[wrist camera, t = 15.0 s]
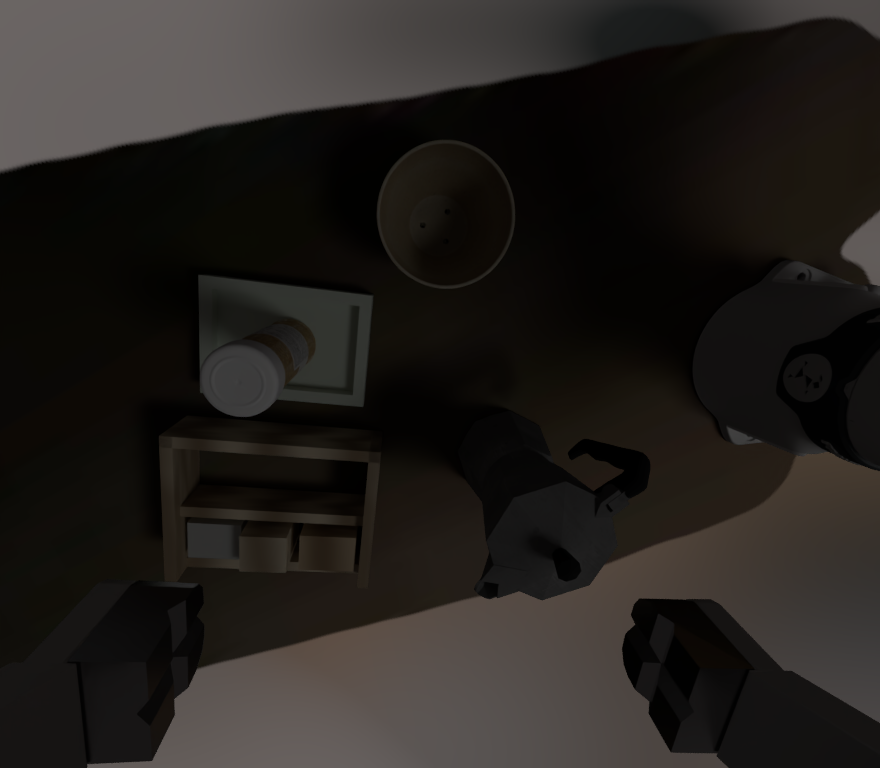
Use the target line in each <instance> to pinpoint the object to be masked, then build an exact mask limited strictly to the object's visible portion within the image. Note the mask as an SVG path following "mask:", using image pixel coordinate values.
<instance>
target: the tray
mask: <svg viewBox="0 0 880 768" xmlns="http://www.w3.org/2000/svg"><path fill="white" fill-rule="evenodd" d="M198 283H199V346H200V370H201V366H202V364H203V362H204V360H205V359H206V357H207V356H208V355H209V354H210V353H211V352H212V351H214V350H215V349H217V348H218V347H220V346H222V345H224V344H226V343H229V342H231V341H234V340H241V339H242V338H244V337H246V336H248V335H250V334H252V333H254V332H256V331H258V330H261V329H263V328H265V327H267V326H270V325H272V324H273V323H274V322H277V321H279V320H282V319H294V320H298V321H300V322H302V323H304V324H305V325H306V326H307V327H309V329H310V330H311V331H312V333H313V335H314V337H315V341H316V349H315V353H314V356H313V358H312V359H311V361H310V362H308V363H307V364H306V365H305V366H304V367H303V369H302V370H301V371H300V372H299V373H298V374H297V375H296V376H295V377H294V378H293V379H292V380H291V381H290V382H289V383H287V385H286V386H285V387H284V388H283V390H282V393H281V394H280V396H279V397H278V398H277V399H279V400H290V401H302V402H313V403H324V404H336V405H347V406H359V407H363V405H364V401H365V389H366V378H367V366H368V354H369V343H370V331H371V319H372V308H373V296H374V294H367V293H359V292H351V291H343V290H334V289H326V288H318V287H310V286H301V285H293V284H285V283H277V282H268V281H260V280H252V279H244V278H235V277H227V276H219V275H211V274H204V275H198ZM200 393H203V391H202V389H201V385H200Z"/></svg>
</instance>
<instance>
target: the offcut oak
mask: <svg viewBox="0 0 880 768" xmlns="http://www.w3.org/2000/svg"><path fill="white" fill-rule="evenodd" d="M358 529H359V526H350V525H331V524H313V523H304V525H303V528H302V531H301V534H300V542H299V565H298V570H322V571H351V572H353V570H354V562H355V555H356V548H357V540H358Z"/></svg>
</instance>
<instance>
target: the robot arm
mask: <svg viewBox="0 0 880 768" xmlns="http://www.w3.org/2000/svg"><path fill="white" fill-rule="evenodd" d="M798 275H799V278H798V280H797V277H798ZM692 371H693V381H694V386H695V389H696V392H697V394H698V396H699V398H700V400H701V402H702V403H703V404H704V406H705V407H706V408H707V409H708V410H709V411H710V412H711V413H712V414H713V415H714V416H715V417H716V419H717V420H718V423H719V426H720V429H721V432H722V435H723V437H724V438H725V440H726V441H728V442H731V443H733V444H736V445H742V444H751V443H760V442H765V443H767V444H770V445H772V446H775V447H777V448H779V449H782V450H784V451H787V452H789V453H792V454H795V455H798V456H805V455H806V454H818V453H823V452H830V453H833V454H834V455H836V456H837V457H839V458H841V459H843V460H846V461H848V462H851V463H853V464H857V465H862V466H865V467H868V468H870V469H874V470H878V471H880V286H877V285H869V284H867V285H864V286H863V285H856V284H853V283H850V282H848V281H845V280H843V279H840V278H838V277H836V276H833V275H831V274H828V273H826V272H824V271H821V270H819V269H816V268H814V267H811V266H809V265H807V264H804V263H802V262H799V261H793V260H785V261H782V262H780V263H779V264H778V265H776V266H775V267H774V268H773V269H772V270H771V271H770V272H769V273H768V274H767V275H766V276H765V277H764V278H763V279H762V281H760V282H759V283H758V284H756V285H754V286H753V287H751V288H749V289H746V290H745V291H743V292H741V293H739V294H737V295H736V296H734V297H733V298H731V299H730V300H728V301H727V302H726V303H725V304H724V305H722V306H721V307H720V308H719V309H718V310H717V312H716V313H715V314H714V315H713V316H712V317H711V319H710V320H709V322H708V323H707V325H706V326H705V328H704V330H703V331H702V333H701V335H700V338H699V340H698V343H697V345H696V349H695V353H694V358H693V368H692ZM203 604H204V596H203V587H202V586H201V585H200V584H193V583H175V582H158V581H140V580H139V581H130V580H112V579H107V580H105V581H102V582H100V583H98V584H97V585H96V586H95V587H94V588H93V589H92V590H91V591H90V592H89V593H88V594H87V595H86V596H85V597H84V598H83V599H82V601H81V602H80V603H79V604H78V605H77V606H76V607H75V608H74V609H73V610H72V611H71V612H70V613H69V614H68V615H67V616H66V617H65V619H64V620H63V621H62V622H61V623H60V624H59V625H58V626H57V627H56V628H55V629H54V630H53V631H52V632H51V633H50V634H49V635H48V637H47V638H46V639H45V640H44V641H43V642H42V643H41V644H40V645H39V646H38V647H37V648H36V649H35V650H34V651H33V652H32V653H31V655H30V656H29V657H28V658H27V659H26V660H25V661H24V662H23V663H10V664H8V665H6V666H4V667H2V668H1V669H0V768H87V764H95V763H96V764H98V763H116V762H117V763H119V762H140V761H152V760H153V758H154V756H155V754H156V752H157V750H158V748H159V745H160V744H161V742H162V739H163V737H164V736H165V733H166V732H167V730H168V727H169V726H170V724H171V721H172V719H173V717H174V715H175V710H174V699H175V698H176V697H177V696H178V695H180V694H181V693H182V692H183V691H185V690H186V689H187V688H188V687H189V685H190V683H191V680H192V678H193V676H194V674H195V672H196V670H197V666H198V663H199V660H200V657H201V653H202V649H203V642H204V624H203V623H202V621H201V620H200V619H199V618H198V617H197V615H198V613H199V611H200V609H201V608H202V606H203ZM631 616H632V618H633V620H634V623H635V625H634V626H633V627H632V628H631V629H630V630H629V631H628V632H627V633H626V634H625V638H624V643H623V647H622V652H623V662H624V666H625V669H626V672H627V675H628V678H629V679H630V681H631V683H632V685H633V687H634V688H635V690H636V691H637V692H639V693H640V694H641V695H642V696H644V697H645V698H646V699H647V700H648V701H649V715H650V717H651V718H652V720H653V722H654V724H655V726H656V727H657V729H658V731H659V733H660V734H661V736H662V738H663V740H664V741H665V743H666V745H667V746H668V748H669V750H670V752H675V753H718V754H717V757H718V758H719V759H720V760H721V761H722V762H723V763H724V764H725V765H727V766H728V767H729V768H880V723H879V722H877V721H875V720H873V719H872V718H870V717H869V716H867V715H865V714H864V713H862V712H860V711H858V710H857V709H855V708H853V707H852V706H850V705H848V704H847V703H845V702H843V701H842V700H840V699H838V698H836V697H835V696H833V695H831V694H830V693H828V692H826V691H825V690H823V689H821V688H820V687H818V686H816V685H814V684H813V683H811V682H809V681H808V680H806V679H804V678H803V677H801V676H799V675H798V674H796V673H794V672H793V671H784V670H783V669H782V668H781V667H780V666H779V665H778V664H777V663H776V662H775V661H774V660H773V659H772V658H771V657H770V656H769V655H768V654H767V653H766V652H765V651H764V650H763V649H762V648H761V646H760V645H759V644H758V643H757V642H756V641H755V640H754V639H753V638H752V637H751V636H750V635H749V634H748V633H747V632H746V631H745V630H744V629H743V628H742V627H741V626H740V625H739V624H738V623H737V622H736V621H735V620H734V618H733V617H732V616H731V615H730V614H729V613H728V612H727V611H726V610H725V609H724V608H723V607H722V606H721V605H720V604H718V603H716V602H714V601H713V600H711V599H687V600H678V599H639V600H638V601H637V602H636V603H635V604H634V606H633V610H632V613H631Z"/></svg>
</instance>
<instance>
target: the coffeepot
mask: <svg viewBox="0 0 880 768" xmlns="http://www.w3.org/2000/svg"><path fill="white" fill-rule="evenodd" d="M585 453H588V454H589V455H590V456H591V457H593V458H594V459H595V460H599V461H606V462H608V463H610V464H611V465H613V466H614V467H617V468H619V469H623V470H624V472H623V473H622V474H620V475H619V476H617V477H615V478H614V479H612V480H610V481H608V482H607V483H605V484H604V485H602V486H601V487H599V488H598V489H596V490H595V491H592V490H591V489H590V488H588V487H587V486H586V485H584V484H583V483H582V482H580V481H579V480H578V479H576V478H575V477H574V476H572V475H571V474H570V473H568V472H567V471H566V470H564V469H563V468H561V467H559V466H557V465H556V464H554V462H553V459H552V456H551V454H550V451H549V449H548V446H547V444H546V441H545V439H544V437H543V434H542V432H541V429H540V427H539V425H537V424H535V423H533V422H531V421H529V420H527V419H526V418H524V417H522V416H519V415H517V414H515V413H513V412H511V411H506V412H502V413H498V414H494V415H490V416H488V417H485V418H483V419H481V420H477V421H475V422H474V424H473V425H472V427H471V429H470V430H469V431H468V433H467V434H466V436H465V438H464V440H463V442H462V444H461V446H460V448H459V449H458V454H459V458H460V461H461V464H462V467H463V471H464V474H465V477H466V481H467V482H468V484H469V485H470V486H471V488H472V489H473V490H474V492H475V493H476V494H477V496H478V497H479V498H480V500H481V501H482V504H483V514H484V524H485V534H486V541H487V545H488V549H489V556H488V559H487V562H486V565H485V568H484V571H483V574H482V577H481V579H480V580H479V581H478V582H477V584H476V585H475V588H474V590H475V591H476V592H477V593H478V594H479V595H481V596H482V597H484V598H487V599H492V598H494V597H497V598H500V597H503V596H506V595H509V594H512V593H515V592H518V591H520V592H523V593H525V594H528V595H530V596H532V597H535V598H537V599H540V600H544V599H548V598H551V597H554V596H557V595H560V594H563V593H566V592H569V591H573V590H576V589H579V588H582V587H585V586H588V585H590V584H591V582H592V581H593V580H594V578H595V577H596V575H597V574H598V572H599V571H600V570H601V568H602V567H603V565H604V564H605V563H606V561H607V560H608V558H609V557H610V555H611V554H612V553H613V551H614V550H615V548H616V547H617V546H618V545H617V540H616V535H615V530H614V525H613V520H612V517H613V516H614V515H615V514H617V513H618V512H619V511H621V510H622V509H623V508H625V507H626V506H628V505H629V503H628V501H627V500H629V499H630V498H632V497H634V496H636V495H638V494H639V493H641V492H642V491H644V490H645V489H646V488H647V484H648V479H649V473H650V461H649V459H648V457H647V456H646V455H645V454H644V453H641V452H639V451H635V450H631V449H626V448H621V447H617V446H614V445H609V444H606V443H601V442H597V441H593V440H589V439H583V440H581V441H580V442H578V443H577V444H576V445H575V446H574V447H573V448H572V449H571V450H570V451H569V452H568V455H569V458H570V459H571V460H573V459H575V458H576V457H578V456H580V455H583V454H585Z"/></svg>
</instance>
